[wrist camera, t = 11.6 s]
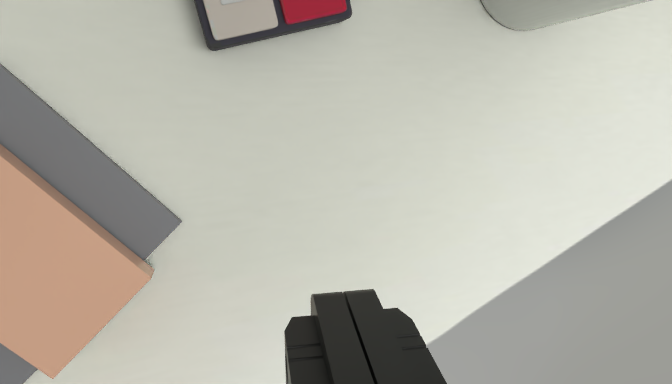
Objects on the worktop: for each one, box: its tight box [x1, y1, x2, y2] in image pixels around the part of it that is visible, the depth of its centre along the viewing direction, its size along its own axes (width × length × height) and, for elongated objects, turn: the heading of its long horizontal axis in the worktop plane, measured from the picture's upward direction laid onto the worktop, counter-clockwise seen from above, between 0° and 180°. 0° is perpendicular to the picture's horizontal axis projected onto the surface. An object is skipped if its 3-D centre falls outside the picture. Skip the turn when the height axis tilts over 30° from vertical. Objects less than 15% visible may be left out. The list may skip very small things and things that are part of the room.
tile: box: [0, 144, 154, 379], centre depth 37 cm, size 2×10×15 cm
